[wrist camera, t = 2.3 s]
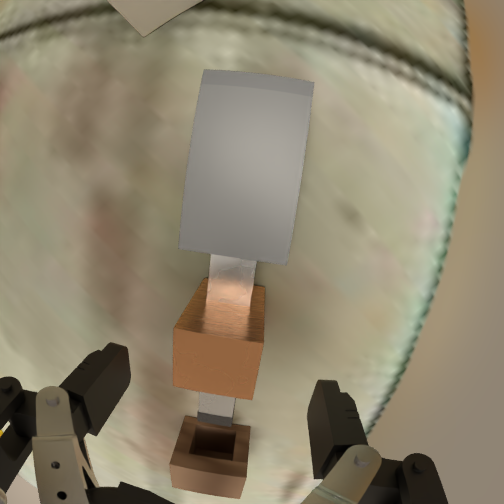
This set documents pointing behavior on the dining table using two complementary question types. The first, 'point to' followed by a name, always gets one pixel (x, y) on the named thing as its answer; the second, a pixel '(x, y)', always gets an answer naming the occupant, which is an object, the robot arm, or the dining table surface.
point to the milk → (150, 12)
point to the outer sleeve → (245, 165)
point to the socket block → (210, 458)
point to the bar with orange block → (221, 339)
